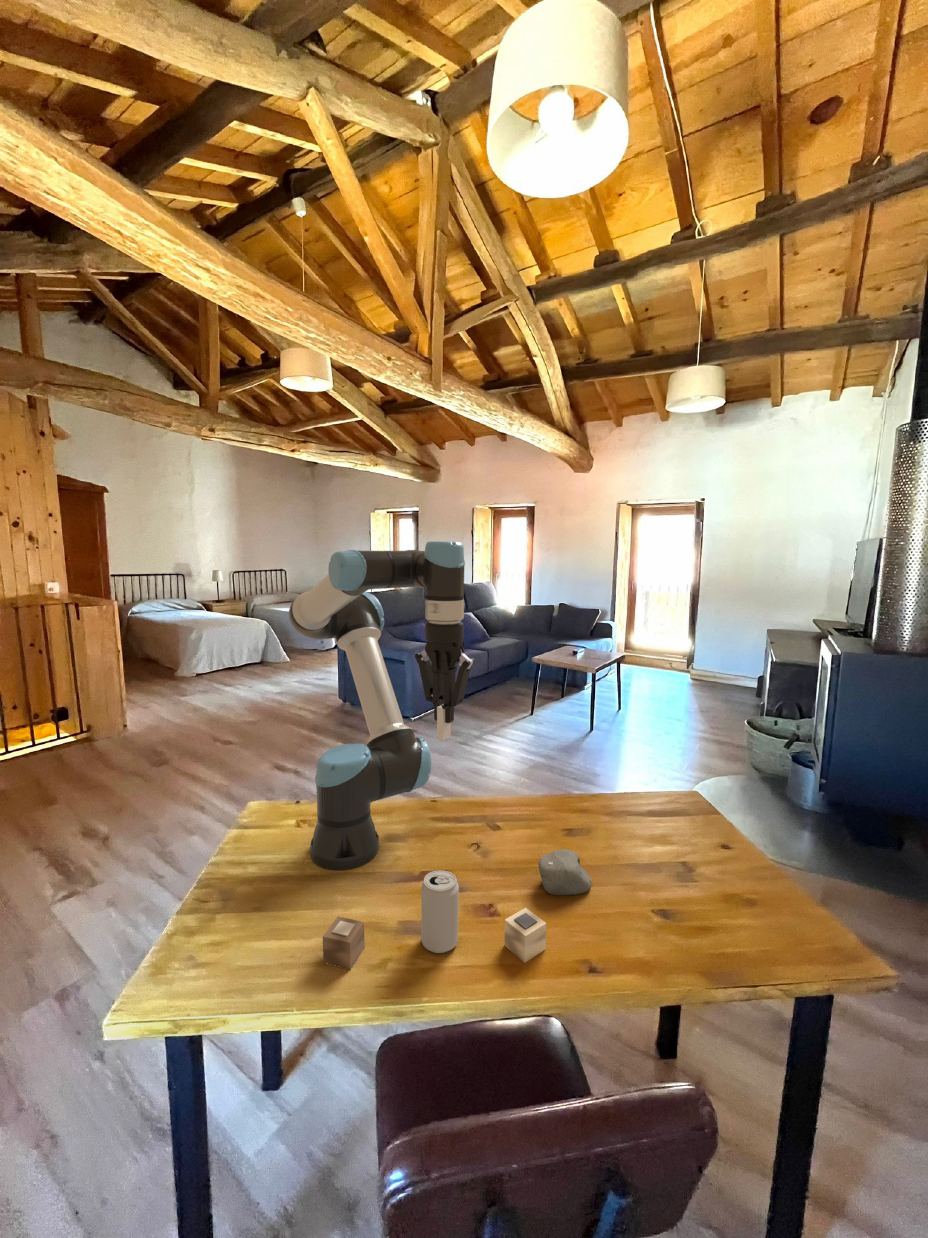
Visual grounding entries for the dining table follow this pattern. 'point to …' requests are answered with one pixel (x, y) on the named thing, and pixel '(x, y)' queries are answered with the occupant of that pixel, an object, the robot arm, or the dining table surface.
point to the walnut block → (343, 942)
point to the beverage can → (440, 911)
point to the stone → (563, 873)
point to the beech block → (525, 934)
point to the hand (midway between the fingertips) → (443, 737)
